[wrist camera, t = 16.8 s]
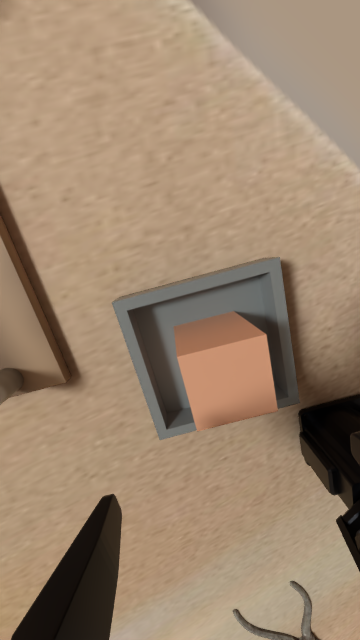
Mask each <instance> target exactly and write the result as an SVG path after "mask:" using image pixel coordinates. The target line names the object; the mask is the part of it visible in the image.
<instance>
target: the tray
mask: <svg viewBox="0 0 360 640" xmlns="http://www.w3.org/2000/svg"><path fill="white" fill-rule="evenodd" d="M112 305H113V307H114V310H115V313H116V316H117V319H118V322H119V325H120V327H121V330H122V333H123V336H124V339H125V342H126V345H127V347H128V350H129V353H130V356H131V359H132V362H133V365H134V367H135V370H136V373H137V376H138V379H139V382H140V385H141V388H142V390H143V393H144V396H145V399H146V402H147V405H148V408H149V410H150V413H151V416H152V419H153V422H154V425H155V428H156V430H157V433H158V436H159V439H160V440H162V439H166V438H170V437H173V436H177V435H181V434H185V433H189V432H192V431H196V430H197V429H196V425H195V422H194V418H193V414H192V411H191V407H190V403H189V400H188V396H187V392H186V389H185V385H184V381H183V378H182V374H181V370H180V367H179V363H178V359H177V353H176V344H175V335H174V326H177V325H181V324H185V323H189V322H193V321H197V320H201V319H205V318H209V317H213V316H216V315H220V314H224V313H228V312H232V311H234V312H236V313H237V314H238V315H240V316H241V317H243V318H244V319H245V320H247V321H248V322H250V323H251V324H253V325H254V326H255V327H257V328H258V329H260V330H261V331H262V332H264V333H265V334H266V335H267V342H268V348H269V355H270V362H271V368H272V375H273V381H274V388H275V395H276V401H277V408H278V409H279V408H283V407H286V406H290V405H294V404H298V403H300V401H299V394H298V386H297V379H296V372H295V365H294V357H293V350H292V343H291V335H290V328H289V321H288V314H287V306H286V299H285V292H284V285H283V277H282V270H281V263H280V257H272V258H262V259H258V260H255V261H251V262H247V263H244V264H240V265H236V266H232V267H229V268H225V269H221V270H218V271H214V272H210V273H207V274H203V275H199V276H196V277H192V278H188V279H185V280H181V281H177V282H174V283H170V284H166V285H162V286H159V287H155V288H151V289H148V290H144V291H140V292H137V293H133V294H129V295H126V296H122V297H119V298H118V299H116V300H115V301H113V302H112Z"/></svg>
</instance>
